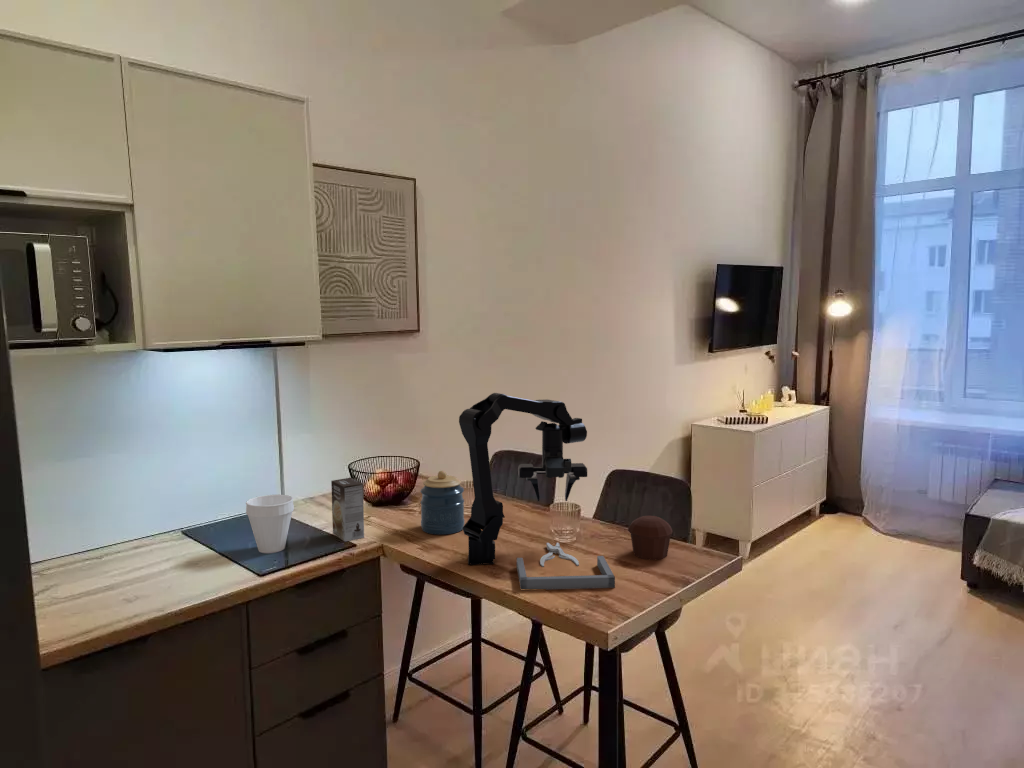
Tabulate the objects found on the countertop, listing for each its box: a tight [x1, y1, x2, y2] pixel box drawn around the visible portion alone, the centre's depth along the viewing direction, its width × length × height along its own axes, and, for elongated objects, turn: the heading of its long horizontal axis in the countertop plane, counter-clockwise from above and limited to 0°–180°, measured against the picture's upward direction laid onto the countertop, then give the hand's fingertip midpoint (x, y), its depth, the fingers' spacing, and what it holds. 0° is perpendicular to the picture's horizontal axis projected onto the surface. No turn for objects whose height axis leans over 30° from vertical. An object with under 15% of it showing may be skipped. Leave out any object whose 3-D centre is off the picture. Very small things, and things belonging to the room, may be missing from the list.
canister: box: [419, 470, 465, 536], centre depth 204 cm, size 13×13×18 cm
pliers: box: [539, 542, 580, 568], centre depth 181 cm, size 10×2×15 cm
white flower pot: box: [245, 494, 295, 554], centre depth 187 cm, size 12×12×14 cm
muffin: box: [627, 515, 673, 561], centre depth 182 cm, size 12×11×10 cm
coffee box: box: [331, 477, 365, 543], centre depth 198 cm, size 9×6×16 cm
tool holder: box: [516, 555, 616, 590], centre depth 166 cm, size 22×14×2 cm, turn 93°
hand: (552, 500), depth 191 cm, fingers open, 7 cm apart
